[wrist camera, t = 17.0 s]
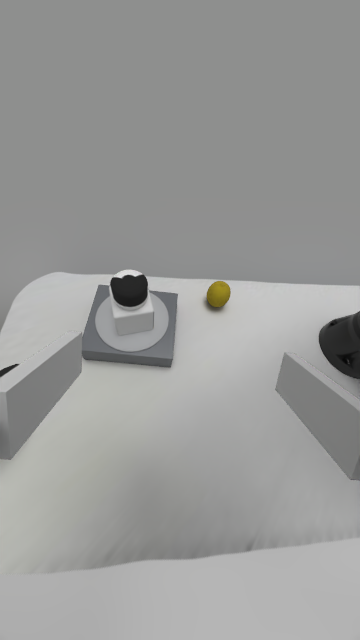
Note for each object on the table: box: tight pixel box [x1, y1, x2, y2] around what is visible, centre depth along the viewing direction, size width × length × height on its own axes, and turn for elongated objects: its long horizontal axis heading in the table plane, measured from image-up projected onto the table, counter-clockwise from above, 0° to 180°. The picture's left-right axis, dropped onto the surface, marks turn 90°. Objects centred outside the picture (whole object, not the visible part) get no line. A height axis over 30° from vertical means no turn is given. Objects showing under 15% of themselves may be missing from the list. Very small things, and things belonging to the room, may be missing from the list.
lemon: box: [207, 281, 230, 307], centre depth 54 cm, size 6×6×8 cm
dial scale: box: [82, 285, 178, 367], centre depth 49 cm, size 18×17×6 cm
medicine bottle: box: [109, 270, 154, 336], centre depth 41 cm, size 7×7×12 cm
